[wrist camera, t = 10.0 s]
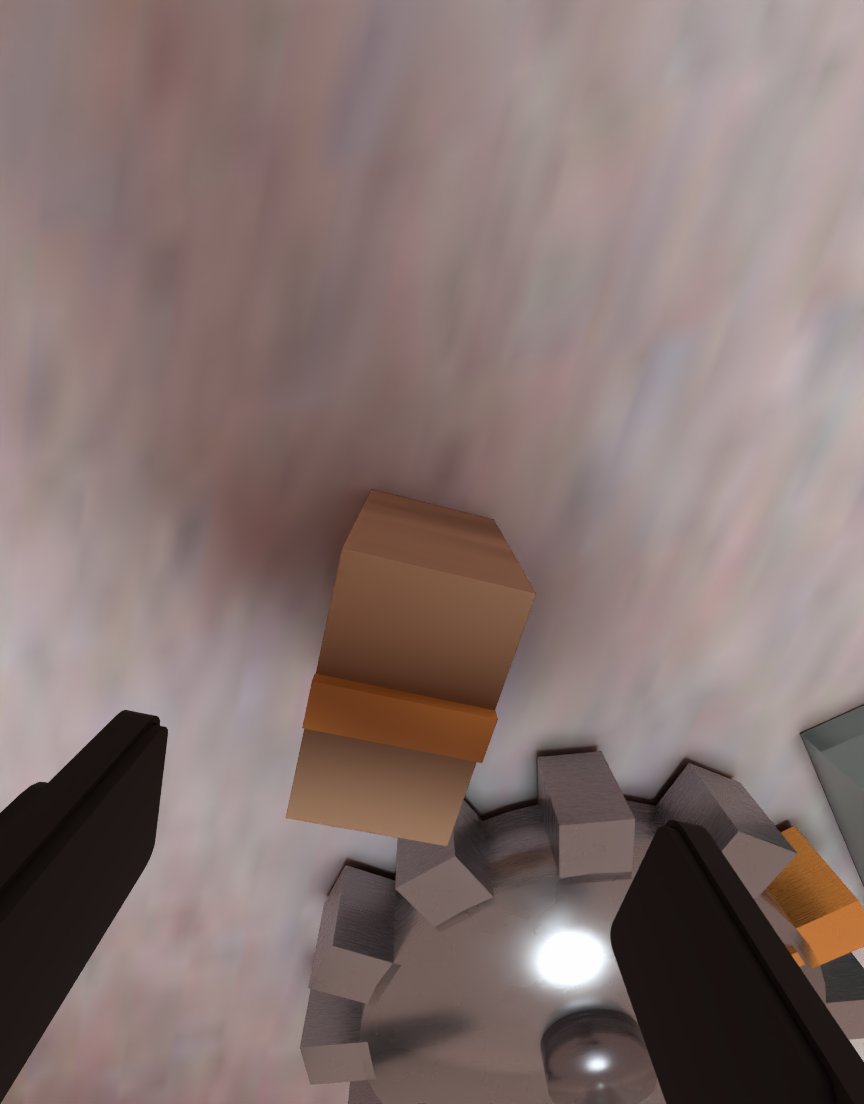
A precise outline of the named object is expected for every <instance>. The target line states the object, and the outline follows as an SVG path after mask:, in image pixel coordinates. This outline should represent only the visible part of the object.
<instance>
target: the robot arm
mask: <svg viewBox="0 0 864 1104" xmlns="http://www.w3.org/2000/svg"><path fill="white" fill-rule="evenodd" d="M167 737H168V729H167V728H166V727H163V726H160V720H159V717H157V716H153V715H148V714H143V713H138V712H133V711H128V710H124V711H121V712H120V713H119V714H118V715H116V716H115V717H114V718H113V719H112V720H111V721H110V722H109V723H108V724H107V725H106V726H105V727H104V728H103V729H102V730H101V731H100V732H99V733H98V734H97V735H96V736H95V737H94V738H93V739H92V740H91V741H90V742H89V743H88V744H87V745H86V746H85V747H84V748H83V749H82V750H81V751H80V752H79V753H78V754H77V755H76V756H75V757H74V758H73V759H72V760H71V761H70V762H69V763H68V764H67V765H66V766H65V767H64V768H63V769H62V770H61V771H60V772H59V773H58V774H57V775H56V776H55V777H54V778H53V779H52V780H51V781H50V782H49V783H46V782H38V783H36V784H34V785H31V786H30V787H29V788H27V789H26V790H25V791H24V792H22V793H21V794H20V795H19V796H18V797H17V798H16V799H15V800H14V801H13V802H11V803H10V804H9V805H8V806H7V807H6V808H5V809H4V810H3V811H2V812H1V813H0V1104H1V1102H2V1100H3V1099H4V1097H5V1095H6V1094H7V1092H8V1091H9V1089H10V1087H11V1086H12V1084H13V1082H14V1081H15V1079H16V1077H17V1076H18V1074H19V1073H20V1071H21V1069H22V1068H23V1066H24V1064H25V1063H26V1061H27V1060H28V1058H29V1056H30V1055H31V1053H32V1051H33V1050H34V1048H35V1046H36V1045H37V1043H38V1042H39V1040H40V1038H41V1037H42V1035H43V1033H44V1032H45V1030H46V1029H47V1027H48V1025H49V1024H50V1022H51V1020H52V1019H53V1017H54V1015H55V1014H56V1012H57V1011H58V1009H59V1007H60V1006H61V1004H62V1002H63V1001H64V999H65V998H66V996H67V994H68V993H69V991H70V989H71V988H72V986H73V984H74V983H75V981H76V980H77V978H78V976H79V975H80V973H81V971H82V970H83V968H84V967H85V965H86V963H87V962H88V960H89V958H90V957H91V955H92V953H93V952H94V950H95V949H96V947H97V945H98V944H99V942H100V940H101V939H102V937H103V936H104V934H105V932H106V931H107V929H108V927H109V926H110V924H111V922H112V921H113V919H114V918H115V916H116V914H117V913H118V911H119V909H120V908H121V906H122V905H123V903H124V901H125V900H126V898H127V896H128V895H129V893H130V891H131V890H132V888H133V887H134V885H135V883H136V882H137V880H138V878H139V877H140V875H141V874H142V872H143V870H144V869H145V867H146V865H147V863H148V861H149V859H150V857H151V854H152V851H153V848H154V844H155V838H156V829H157V821H158V813H159V804H160V796H161V787H162V779H163V770H164V762H165V754H166V745H167ZM610 940H611V946H612V950H613V953H614V956H615V958H616V961H617V964H618V967H619V970H620V973H621V976H622V979H623V981H624V984H625V987H626V990H627V993H628V996H629V999H630V1001H631V1004H632V1007H633V1010H634V1013H635V1016H636V1019H637V1022H638V1024H639V1027H640V1030H641V1033H642V1036H643V1039H644V1042H645V1044H646V1047H647V1050H648V1053H649V1056H650V1059H651V1062H652V1065H653V1067H654V1070H655V1073H656V1076H657V1079H658V1082H659V1085H660V1087H661V1090H662V1093H663V1096H664V1099H665V1102H666V1104H864V1062H863V1060H862V1059H861V1057H860V1056H859V1054H858V1053H857V1051H856V1050H855V1049H854V1047H853V1046H852V1044H851V1043H850V1041H849V1040H848V1038H847V1037H846V1035H845V1034H844V1032H843V1031H842V1029H841V1028H840V1026H839V1025H838V1023H837V1022H836V1020H835V1019H834V1017H833V1016H832V1014H831V1013H830V1011H829V1010H828V1008H827V1007H826V1006H825V1004H824V1003H823V1001H822V1000H821V998H820V997H819V995H818V994H817V992H816V991H815V989H814V988H813V986H812V985H811V983H810V982H809V980H808V979H807V977H806V976H805V974H804V973H803V971H802V970H801V968H800V967H799V966H798V964H797V963H796V961H795V960H794V958H793V957H792V955H791V954H790V952H789V951H788V949H787V948H786V946H785V945H784V943H783V942H782V940H781V939H780V937H779V936H778V934H777V933H776V931H775V930H774V928H773V927H772V925H771V924H770V923H769V921H768V920H767V918H766V917H765V915H764V914H763V912H762V911H761V909H760V908H759V906H758V905H757V903H756V902H755V900H754V899H753V897H752V896H751V894H750V893H749V891H748V890H747V888H746V887H745V885H744V884H743V883H742V881H741V880H740V878H739V877H738V875H737V874H736V872H735V871H734V869H733V868H732V866H731V865H730V863H729V862H728V860H727V859H726V857H725V856H724V854H723V853H722V851H721V850H720V848H719V847H718V845H717V844H716V842H715V841H714V840H713V838H712V837H711V835H710V834H709V832H708V831H707V830H706V829H705V828H704V827H702V826H700V825H696V824H691V823H686V822H681V821H676V820H670V821H668V822H667V823H666V824H665V825H664V826H661V827H659V828H658V830H657V831H656V833H655V835H654V837H653V839H652V841H651V843H650V846H649V848H648V850H647V852H646V854H645V856H644V858H643V860H642V862H641V864H640V866H639V868H638V871H637V873H636V875H635V877H634V879H633V881H632V883H631V885H630V887H629V889H628V891H627V894H626V896H625V898H624V900H623V902H622V904H621V906H620V908H619V910H618V912H617V914H616V917H615V919H614V921H613V923H612V926H611V931H610Z"/></svg>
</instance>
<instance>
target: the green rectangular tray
mask: <svg viewBox="0 0 864 1104" xmlns="http://www.w3.org/2000/svg"><path fill="white" fill-rule="evenodd" d="M801 737H802V739H803V741H804V744H805V746H806V749H807V751H808V753H809V756H810V758H811V761H812V763H813V765H814V768H815V770H816V773H817V775H818V777H819V780H820V782H821V785H822V787H823V789H824V792H825V794H826V797H827V799H828V801H829V804H830V806H831V809H832V811H833V813H834V816H835V818H836V821H837V823H838V825H839V828H840V830H841V833H842V835H843V837H844V840H845V842H846V845H847V847H848V849H849V852H850V854H851V857H852V859H853V861H854V864H855V866H856V869H857V871H858V873H859V876H860V878H861V881H862V883H863V885H864V705H863V706H861V707H859V708H857V709H854V710H852V711H850V712H848V713H845V714H843V715H841V716H839V717H836V718H834V719H832V720H830V721H828V722H825V723H823V724H821V725H819V726H816V727H814V728H812V729H810V730H808V731H805V732H803V733H801Z"/></svg>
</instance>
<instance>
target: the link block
mask: <svg viewBox="0 0 864 1104" xmlns="http://www.w3.org/2000/svg"><path fill="white" fill-rule="evenodd" d="M535 595H536V593H535V591H534V589H533V587H532V586H531V584H530V582H529V580H528V579H527V577H526V575H525V573H524V572H523V570H522V568H521V566H520V565H519V563H518V561H517V559H516V558H515V556H514V554H513V552H512V551H511V549H510V547H509V545H508V544H507V542H506V540H505V538H504V537H503V535H502V533H501V531H500V530H499V528H498V526H497V524H496V523H495V521H494V520H493V519H489V518H485V517H481V516H477V515H473V514H469V513H465V512H461V511H457V510H453V509H449V508H445V507H441V506H437V505H433V504H429V503H425V502H421V501H417V500H413V499H409V498H405V497H401V496H397V495H392V494H388V493H384V492H380V491H376V490H372V489H371V491H370V493H369V495H368V497H367V499H366V501H365V503H364V505H363V507H362V509H361V511H360V513H359V515H358V517H357V519H356V521H355V523H354V525H353V527H352V530H351V532H350V534H349V536H348V538H347V540H346V542H345V544H344V546H343V548H342V551H341V556H340V561H339V566H338V571H337V575H336V580H335V585H334V590H333V594H332V599H331V604H330V609H329V614H328V618H327V623H326V628H325V633H324V637H323V642H322V647H321V652H320V657H319V661H318V666H317V671H316V673H315V675H314V677H313V680H312V684H311V689H310V693H309V698H308V703H307V708H306V713H305V718H304V722H303V727H302V728H304V733H303V738H302V742H301V747H300V752H299V757H298V762H297V766H296V771H295V776H294V781H293V785H292V790H291V795H290V800H289V805H288V809H287V814H286V818H288V819H294V820H300V821H305V822H311V823H317V824H323V825H328V826H334V827H340V828H345V829H351V830H357V831H363V832H368V833H374V834H380V835H386V836H391V837H397V838H403V839H408V840H414V841H420V842H426V843H431V844H437V845H443V846H447V845H448V842H449V839H450V836H451V833H452V831H453V828H454V825H455V822H456V819H457V816H458V813H459V811H460V808H461V805H462V802H463V799H464V796H465V794H466V791H467V788H468V785H469V782H470V779H471V777H472V774H473V771H474V768H475V765H476V762H479V763H482V762H483V759H484V756H485V754H486V751H487V748H488V745H489V742H490V740H491V737H492V734H493V731H494V728H495V726H496V723H497V720H498V718H497V714H496V711H495V708H496V706H497V703H498V700H499V697H500V694H501V691H502V689H503V686H504V683H505V680H506V677H507V674H508V672H509V669H510V666H511V663H512V660H513V657H514V655H515V652H516V649H517V646H518V643H519V640H520V637H521V635H522V632H523V629H524V626H525V623H526V620H527V618H528V615H529V612H530V609H531V606H532V603H533V601H534V598H535Z"/></svg>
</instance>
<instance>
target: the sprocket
mask: <svg viewBox="0 0 864 1104" xmlns="http://www.w3.org/2000/svg"><path fill="white" fill-rule="evenodd" d="M537 764H538V805H534V806H530V807H526V808H521V809H517V810H513V811H509V812H507V813H504V814H501V815H498V816H495V817H492V818H490V819H487V820H484V821H482V820H481V819H480V818H479V816H478V815H477V814H476V813H475V812H474V811H473V810H472V808H471V807H470V806H469V805H468V804H467V803H466V802H465V801H464V799H463V802H462V805H461V808H460V811H459V813H458V816H457V819H456V822H455V825H454V828H453V831H452V833H451V836H450V839H449V842H448V845H447V846H443V845H437V844H431V843H426V842H420V841H414V840H408V839H403V838H398V843H397V862H396V881H395V880H392V879H388V878H385V877H382V876H379V875H376V874H372V873H369V872H366V871H363V870H360V869H356V868H353V867H350V866H347V865H345V867H344V869H343V870H342V872H341V874H340V876H339V878H338V880H337V881H336V883H335V885H334V887H333V889H332V891H331V892H330V894H329V896H328V898H327V900H326V902H325V903H324V908H323V913H322V918H321V924H320V929H319V934H318V940H317V945H316V950H315V956H314V961H313V966H312V972H311V977H310V982H309V988H310V989H311V990H310V996H309V1001H308V1007H307V1012H306V1018H305V1023H304V1029H303V1034H302V1039H301V1045H300V1049H301V1053H302V1056H303V1060H304V1063H305V1067H306V1070H307V1074H308V1077H309V1081H310V1084H311V1085H312V1084H324V1083H336V1082H348V1081H350V1090H349V1099H348V1104H666V1102H665V1099H664V1096H663V1093H662V1090H661V1087H660V1085H659V1082H658V1079H657V1076H656V1073H655V1070H654V1067H653V1065H652V1062H651V1059H650V1056H649V1053H648V1050H647V1047H646V1044H645V1042H644V1039H643V1036H642V1033H641V1030H640V1027H639V1024H638V1022H637V1019H636V1016H635V1013H634V1010H633V1007H632V1004H631V1001H630V999H629V996H628V993H627V990H626V987H625V984H624V981H623V979H622V976H621V973H620V970H619V967H618V964H617V961H616V958H615V956H614V953H613V950H612V946H611V940H610V931H611V926H612V923H613V921H614V919H615V917H616V914H617V912H618V910H619V908H620V906H621V904H622V902H623V900H624V898H625V896H626V894H627V891H628V889H629V887H630V885H631V883H632V881H633V879H634V877H635V875H636V873H637V871H638V868H639V866H640V864H641V862H642V860H643V858H644V856H645V854H646V852H647V850H648V848H649V846H650V843H651V841H652V839H653V837H654V835H655V833H656V831H657V830H658V828H659V827H661V826H664V825H665V824H666V823H667V822H668V821H670V820H676V821H681V822H686V823H691V824H696V825H700V826H702V827H704V828H705V829H706V830H707V831H708V832H709V834H710V835H711V837H712V838H713V840H714V841H715V842H716V844H717V845H718V847H719V848H720V850H721V851H722V853H723V854H724V856H725V857H726V859H727V860H728V862H729V863H730V865H731V866H732V868H733V869H734V871H735V872H736V874H737V875H738V877H739V878H740V880H741V881H742V883H743V884H744V885H745V887H746V888H747V890H748V891H749V893H750V894H751V896H752V897H753V899H754V900H755V902H756V903H757V905H758V906H759V908H760V909H761V911H762V912H763V914H764V915H765V917H766V918H767V920H768V921H769V923H770V924H771V925H772V927H773V928H774V930H775V931H776V933H777V934H778V936H779V937H780V939H781V940H782V942H783V943H784V945H785V946H786V948H787V949H788V951H789V952H790V954H791V955H792V957H793V958H794V960H795V961H796V963H797V964H798V966H799V967H800V968H801V970H802V971H803V973H804V974H805V976H806V977H807V979H808V980H809V982H810V983H811V985H812V986H813V988H814V989H815V991H816V992H817V994H818V995H819V997H820V998H821V1000H822V1001H823V1003H824V1004H825V1006H826V1007H827V1008H828V1010H829V1011H830V1013H831V1014H832V1016H833V1017H834V1019H835V1020H836V1022H837V1023H838V1025H839V1026H840V1028H841V1029H842V1031H843V1032H844V1034H845V1035H846V1037H847V1038H848V1039H860V1038H864V968H863V967H862V966H861V964H860V963H859V962H858V961H857V959H856V958H855V957H854V955H853V954H852V953H851V952H852V951H854V950H857V949H859V948H861V947H864V909H863V908H862V906H861V904H860V902H859V901H858V899H857V898H856V897H855V896H854V895H853V894H852V893H851V891H850V890H849V889H848V888H847V887H846V886H845V884H844V883H843V882H842V881H841V880H840V879H839V877H838V876H837V875H836V874H835V873H834V872H833V870H832V869H831V868H830V867H829V866H828V865H827V863H826V862H825V861H824V860H823V859H822V858H821V856H820V855H819V854H818V853H817V852H816V851H815V849H814V848H813V847H812V846H811V845H810V844H809V842H808V841H807V840H806V839H805V838H804V837H803V835H802V834H801V833H800V832H799V831H798V830H797V828H796V827H795V826H793V827H791V828H789V829H787V830H785V831H783V832H780V831H779V830H778V829H777V827H776V826H775V825H774V824H773V823H772V821H771V820H770V819H769V818H768V816H767V815H766V814H765V813H764V811H763V810H762V809H761V808H760V807H759V805H758V804H757V803H756V802H755V800H754V799H753V798H752V797H751V796H750V794H749V793H748V792H747V791H746V789H745V788H744V787H743V786H742V785H741V783H739V782H737V781H734V780H731V779H729V778H726V777H724V776H721V775H719V774H716V773H714V772H711V771H709V770H706V769H704V768H701V767H699V766H696V765H693V764H691V763H689V764H688V765H687V766H686V767H685V769H684V770H683V771H682V773H681V774H680V775H679V777H678V778H677V779H676V780H675V782H674V783H673V784H672V786H671V787H670V788H669V790H668V791H667V792H666V793H665V795H664V796H663V797H662V799H661V800H660V801H659V803H658V804H657V805H656V806H654V805H649V804H643V803H638V802H632V801H626V800H625V798H624V796H623V794H622V792H621V790H620V788H619V786H618V784H617V782H616V780H615V778H614V776H613V774H612V772H611V770H610V768H609V766H608V764H607V762H606V760H605V758H604V756H603V754H602V752H601V751H599V752H588V753H577V754H566V755H554V756H543V757H537Z"/></svg>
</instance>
